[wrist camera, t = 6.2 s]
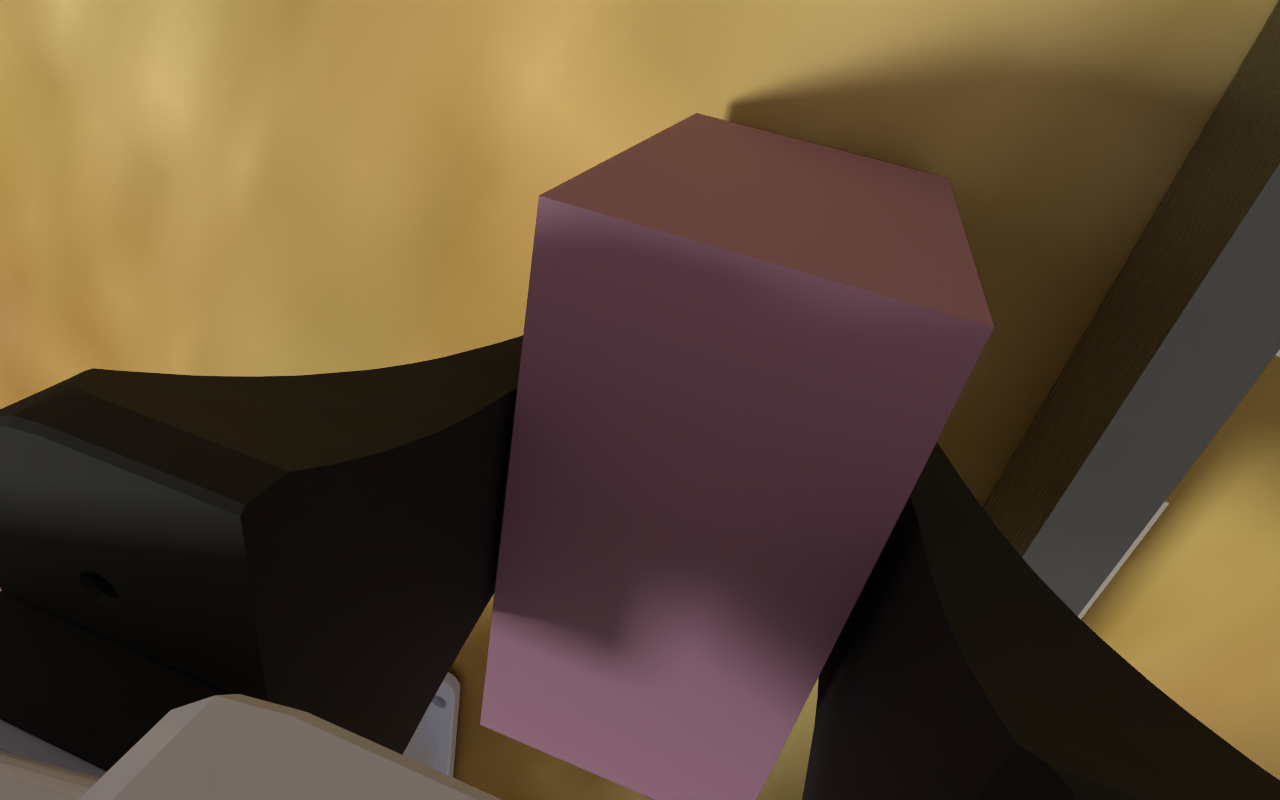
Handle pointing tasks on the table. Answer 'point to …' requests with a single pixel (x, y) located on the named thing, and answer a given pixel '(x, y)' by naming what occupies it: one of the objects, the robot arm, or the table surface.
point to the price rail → (1159, 352)
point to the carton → (715, 443)
